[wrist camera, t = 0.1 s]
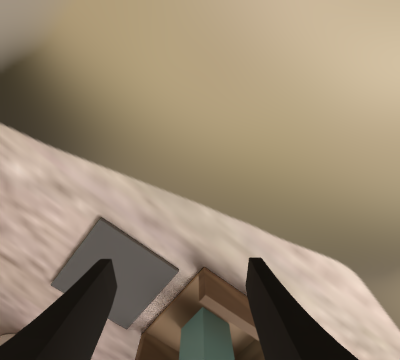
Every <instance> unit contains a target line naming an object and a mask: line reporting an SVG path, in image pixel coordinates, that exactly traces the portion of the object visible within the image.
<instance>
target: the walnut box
mask: <svg viewBox="0 0 400 360" xmlns="http://www.w3.org/2000/svg"><path fill="white" fill-rule="evenodd" d="M202 307H204V308H205V309H207V310H208V311H210V312H211V313H213V314H214V315H216V316H217V317H219V318H220V319H222V320H224V321H225V322H227V323H228V324H229V327H230V333H231V340H232V346H233V352H234V358H235V360H265V358H264V355H263V351H262V348H261V344H260V341H259V338H258V334H257V331H256V327H255V324H254V321H253V317H252V314H251V310H250V307H249V302H248V297H247V296H246V295H244V294H243V293H241V292H240V291H238V290H237V289H236V288H234V287H233V286H231V285H230V284H228V283H227V282H225V281H224V280H223V279H221V278H220V277H218V276H217V275H215V274H214V273H212V272H211V271H210V270H208V269H207V268H205V267H203V269H202V270H201V271H200V272H199V273H198V274H197V275H196V276H195V277H194V278H193V279H192V280H191V282H190V283H189V284H188V285H187V286H186V287H185V288H184V289H183V290H182V291H181V292H180V293H179V295H178V296H177V297H176V298H175V299H174V300H173V301H172V302H171V303H170V304H169V305H168V306H167V308H166V309H165V310H164V311H163V312H162V313H161V314H160V315H159V316H158V317H157V318H156V319H155V321H154V322H153V323H152V324H151V325H150V326H149V327H148V328H147V329H146V330H145V331H144V332H143V334H142V335H141V339H140V343H139V346H138V350H137V354H136V358H135V360H179V352H180V339H181V329H182V328H183V327H184V325H185V324H186V323H187V322H188V321H189V320H190V319H191V318H192V317H193V316H194V315H195V314H196V313H197V312H198V311H199V310H200V309H201V308H202Z"/></svg>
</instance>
